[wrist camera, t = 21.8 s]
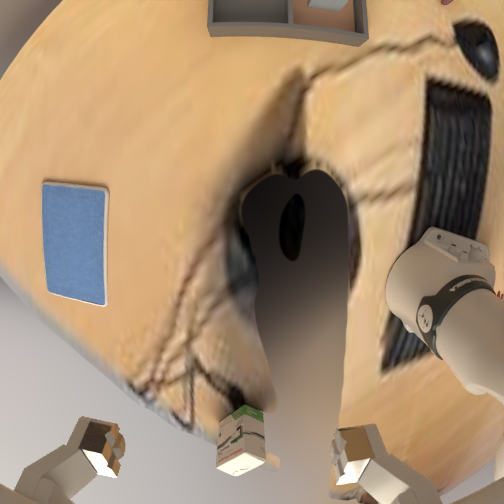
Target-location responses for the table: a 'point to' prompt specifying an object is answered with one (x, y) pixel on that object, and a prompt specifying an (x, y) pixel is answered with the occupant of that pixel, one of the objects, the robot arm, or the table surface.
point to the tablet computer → (75, 241)
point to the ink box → (241, 441)
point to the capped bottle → (327, 4)
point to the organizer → (289, 20)
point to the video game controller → (446, 2)
